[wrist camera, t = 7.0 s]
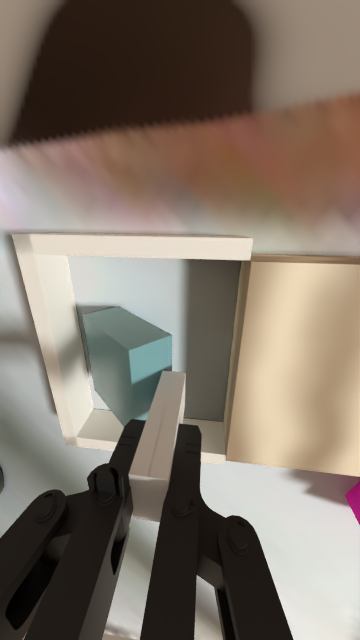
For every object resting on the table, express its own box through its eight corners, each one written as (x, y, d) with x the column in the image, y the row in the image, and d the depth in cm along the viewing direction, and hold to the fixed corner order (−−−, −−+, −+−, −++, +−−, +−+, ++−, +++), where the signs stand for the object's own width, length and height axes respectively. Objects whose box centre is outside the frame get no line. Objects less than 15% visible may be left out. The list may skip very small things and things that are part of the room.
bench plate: (223, 422, 22) (225, 460, 19) (241, 253, 16) (251, 261, 12) (353, 435, 21) (384, 479, 17) (428, 258, 15) (500, 268, 11)
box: (84, 416, 24) (65, 445, 21) (48, 232, 17) (11, 234, 14) (222, 430, 23) (224, 464, 19) (244, 235, 16) (252, 238, 12)
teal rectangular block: (125, 375, 22) (94, 389, 20) (118, 306, 19) (82, 314, 17) (172, 419, 17) (136, 443, 15) (171, 334, 14) (128, 350, 12)
